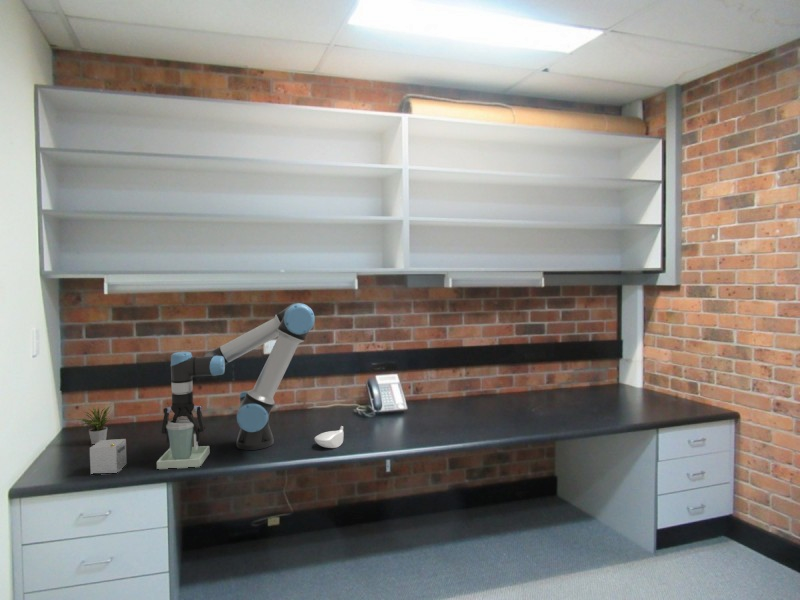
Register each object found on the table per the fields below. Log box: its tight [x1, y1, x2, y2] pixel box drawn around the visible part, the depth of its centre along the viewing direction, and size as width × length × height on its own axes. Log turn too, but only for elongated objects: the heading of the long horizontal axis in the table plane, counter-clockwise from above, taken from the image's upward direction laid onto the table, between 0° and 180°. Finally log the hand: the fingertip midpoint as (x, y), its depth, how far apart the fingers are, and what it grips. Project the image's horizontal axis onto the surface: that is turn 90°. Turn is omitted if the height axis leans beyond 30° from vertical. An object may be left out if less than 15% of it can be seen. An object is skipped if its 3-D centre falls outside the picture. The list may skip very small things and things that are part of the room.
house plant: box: [76, 405, 113, 445], centre depth 225 cm, size 14×14×16 cm
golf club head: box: [314, 425, 345, 449], centre depth 218 cm, size 10×11×12 cm
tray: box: [156, 445, 211, 470], centre depth 201 cm, size 15×15×3 cm
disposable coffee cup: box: [166, 417, 195, 460], centre depth 200 cm, size 11×11×15 cm
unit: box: [89, 438, 128, 475], centre depth 193 cm, size 10×9×10 cm
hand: (184, 450), depth 201 cm, fingers open, 8 cm apart
